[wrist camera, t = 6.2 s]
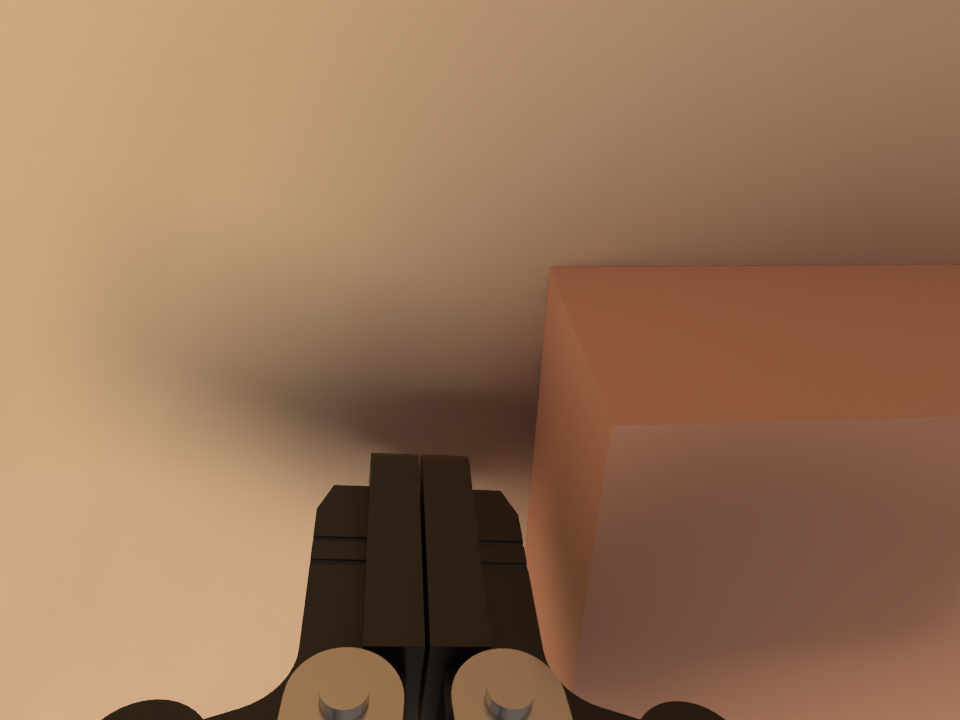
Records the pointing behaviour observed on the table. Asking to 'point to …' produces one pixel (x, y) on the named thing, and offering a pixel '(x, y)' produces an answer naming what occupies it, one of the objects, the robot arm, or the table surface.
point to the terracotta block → (751, 489)
